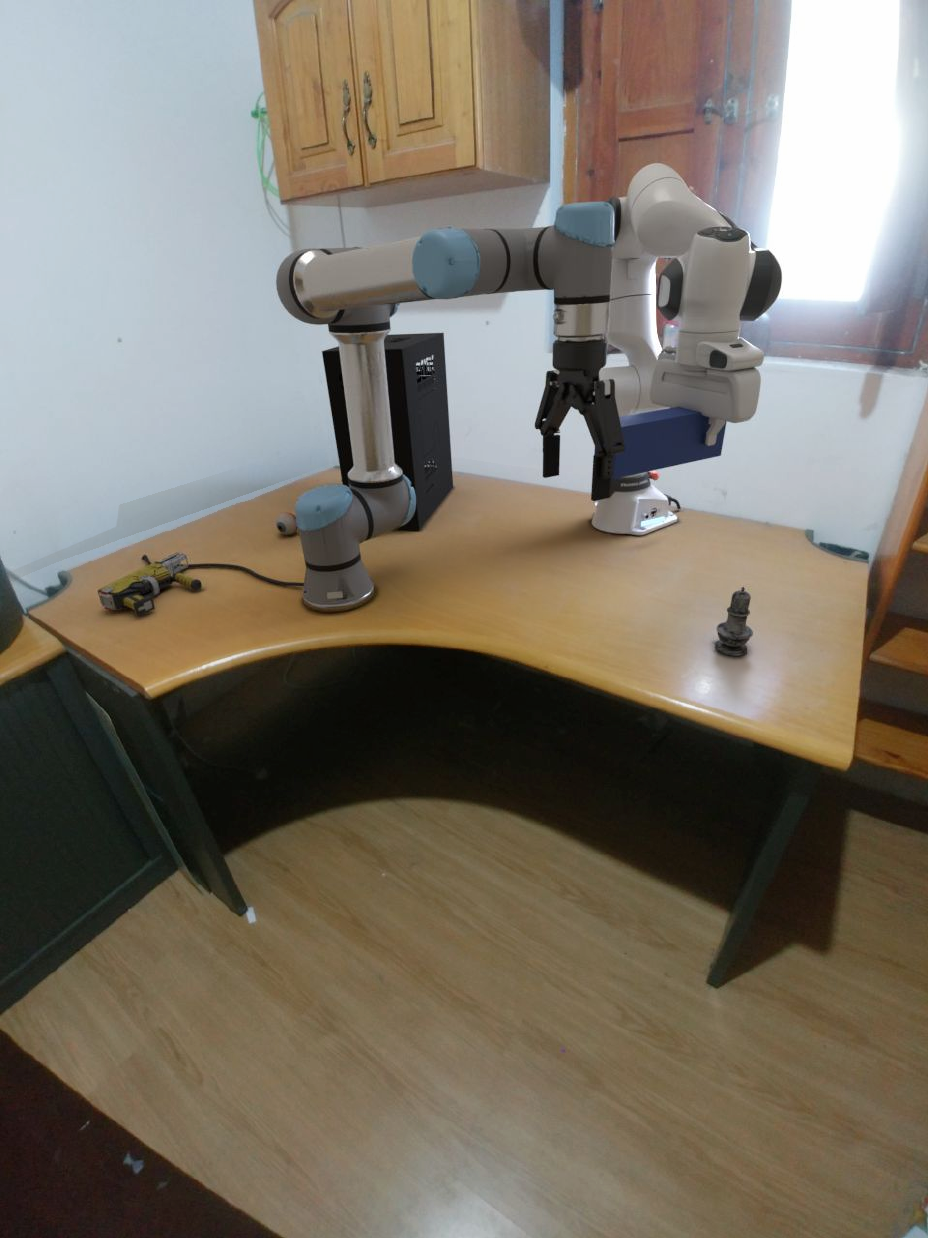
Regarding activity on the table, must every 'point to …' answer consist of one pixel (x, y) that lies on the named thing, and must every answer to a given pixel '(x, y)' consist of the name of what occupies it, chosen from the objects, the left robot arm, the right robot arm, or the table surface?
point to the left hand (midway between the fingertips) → (574, 487)
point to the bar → (663, 441)
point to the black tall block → (406, 417)
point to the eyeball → (286, 523)
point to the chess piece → (735, 626)
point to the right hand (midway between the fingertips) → (693, 440)
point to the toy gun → (146, 585)
